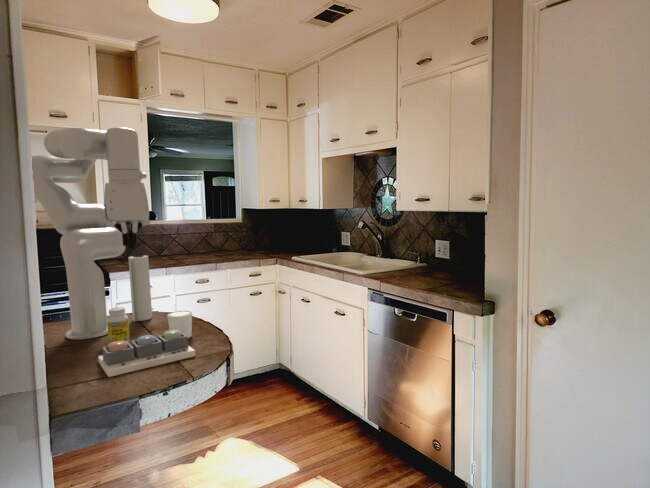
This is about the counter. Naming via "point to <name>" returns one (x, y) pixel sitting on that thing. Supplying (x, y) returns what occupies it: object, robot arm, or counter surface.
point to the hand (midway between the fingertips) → (129, 248)
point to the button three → (172, 334)
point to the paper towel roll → (140, 288)
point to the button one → (117, 346)
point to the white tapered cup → (181, 321)
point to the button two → (146, 340)
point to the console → (145, 355)
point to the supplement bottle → (118, 325)
